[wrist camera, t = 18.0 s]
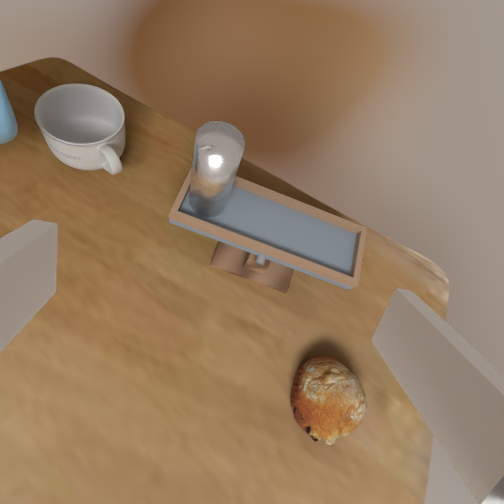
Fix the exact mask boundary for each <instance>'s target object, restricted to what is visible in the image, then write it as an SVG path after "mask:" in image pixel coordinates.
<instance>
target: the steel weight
mask: <svg viewBox="0 0 504 504" xmlns="http://www.w3.org/2000/svg"><path fill="white" fill-rule="evenodd" d="M244 148H245V140H244V137H243V135H242V134H241V132H240V131H239V130H238V129H237V128H236V127H234V126H233V125H231V124H229V123H226V122H222V121H211V122H208V123H205V124H203V125H202V126H201V127H200V128H199V129H198V131H197V133H196V137H195V147H194V156H193V165H192V175H191V184H190V193H189V204H190V206H191V208H192V210H193V211H194V212H195V213H197V214H198V215H200V216H203V217H208V218H210V217H216V216H218V215H220V214H221V213H222V212H223V211H224V210H225V207H226V204H227V201H228V198H229V195H230V192H231V189H232V186H233V183H234V180H235V177H236V173H237V170H238V167H239V164H240V161H241V158H242V155H243V151H244Z"/></svg>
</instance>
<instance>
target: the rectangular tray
mask: <svg viewBox="0 0 504 504" xmlns="http://www.w3.org/2000/svg"><path fill="white" fill-rule="evenodd" d="M192 165H193V164H192ZM191 175H192V166H191V168H190V171H189V173H188V175H187V177H186V179H185V181H184V183H183V185H182V187H181V190H180V192H179V194H178V196H177V198H176V200H175V202H174V204H173V206H172V208H171V211H170V213H169V223H172V224H175V225H177V226H180V227H183V228H185V229H188V230H191V231H193V232H196V233H199V234H201V235H204V236H207V237H209V238H212V239H215V240H217V241H220V242H223V243H225V244H228V245H231V246H233V247H236V248H239V249H241V250H244V251H247V252H249V253H252V254H255V255H257V258H256V262H255V263H256V264H257V265H260V266H263V265H264V263H265V260H266V259H268V260H271V261H273V262H276V263H279V264H281V265H284V266H287V267H289V268H292V269H295V270H297V271H300V272H303V273H305V274H308V275H311V276H313V277H316V278H319V279H321V280H324V281H327V282H329V283H332V284H335V285H337V286H340V287H343V288H345V289H348V290H350V289H352V288H354V287H356V286H358V283H359V276H360V270H361V264H362V258H363V251H364V245H365V239H366V233H367V228H366V227H363V226H361V225H358V224H356V223H353V222H351V221H348V220H346V219H343V218H341V217H338V216H336V215H333V214H330V213H328V212H325V211H323V210H320V209H318V208H315V207H313V206H310V205H308V204H305V203H303V202H300V201H298V200H295V199H293V198H290V197H288V196H285V195H283V194H280V193H278V192H275V191H273V190H270V189H268V188H265V187H263V186H260V185H258V184H255V183H253V182H250V181H248V180H245V179H243V178H240V177H238V176H236V177H235V180H234V183H233V186H232V189H231V192H230V195H229V198H228V201H227V204H226V207H225V210H224V211H223V212H222V213H221V214H220V215H218V216H216V217H210V218H208V217H203V216H200V215H198V214H197V213H195V212H194V211H193V210H192V208H191V206H190V204H189V193H190V184H191Z"/></svg>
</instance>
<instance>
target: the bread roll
mask: <svg viewBox="0 0 504 504" xmlns="http://www.w3.org/2000/svg"><path fill="white" fill-rule="evenodd" d="M291 408H292V411H293V413H294V418H295V420H296V422H297V423H298V424H299V425H300V427H301V428H302V429H303V430H304V431H305V432H306V433H307V434H308V435H310V436H311V437H312V439H313V440H314V441H315V442H316V441H318V440H321V439H323V441H324V443H325V444H328V445H331V444H333V443H334V442H335V440H336V439H337V438H338V437H341V436H343V435H344V436H347V435H350V434H351V432H352V431H353V430H354V429H355V428H356V427H357V426H358V425H359V424H360V422H361V421H362V419H363V417H364V416H365V413H366V408H367V400H366V396H365V393H364V390H363V389H362V386H361V384H360V382H359V379H358V377H356V376H355V375H354V374H353V373H352V372H350V370H349V369H347V368H346V367H345V366H344V365H343V364H341V363H340V362H339V361H337V360H336V359H334V358H331V357H327V356H318V357H314V358H312V359H310V360H308V361H306V362H305V363H304V364H303V365H302V366H301V367H300V368H299V370H298V371H297V373H296V377H295V380H294V384H293V388H292V393H291Z"/></svg>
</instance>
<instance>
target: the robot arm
mask: <svg viewBox="0 0 504 504" xmlns="http://www.w3.org/2000/svg"><path fill="white" fill-rule="evenodd" d="M17 132H18V126H17V122H16V119H15V116H14V113H13V110H12V107H11V104H10V102H9V99H8V97H7V94H6V92H5V89H4V87H3V84H2V82H1V80H0V145H1V144H4V143H8V142H10V141H12V140H13V139H14V138H15V137H16V135H17ZM57 233H58V224H56V223H51V222H45V221H40V220H35V219H33V220H32V221H30V222H28V223H26V224H25V225H23V226H21V227H19V228H18V229H16V230H14V231H12V232H11V233H9V234H7V235H5V236H4V237H2V238H0V353H1V352H2V351H3V350H4V349H5V347H6V346H7V345H8V344H9V343H10V342H11V341H12V340H13V339H14V338H15V337H16V335H17V334H18V333H19V332H20V331H21V330H22V329H23V328H24V327H25V326H26V324H27V323H28V322H29V321H30V320H31V319H32V318H33V317H34V316H35V315H36V314H37V312H38V311H39V310H40V309H41V308H42V307H43V306H44V305H45V304H46V303H47V301H48V300H49V299H50V298H51V297H52V296H53V295H54V294H55V293H56V271H57ZM371 342H372V343H373V345H374V346H375V348H376V349H377V351H378V352H379V354H380V355H381V357H382V358H383V360H384V361H385V363H386V364H387V366H388V367H389V369H390V370H391V372H392V373H393V375H394V376H395V378H396V379H397V381H398V382H399V384H400V386H401V387H402V389H403V390H404V392H405V393H406V395H407V396H408V398H409V399H410V401H411V402H412V404H413V405H414V407H415V408H416V410H417V411H418V413H419V414H420V416H421V417H422V419H423V420H424V422H425V423H426V425H427V426H428V428H429V429H430V431H431V432H432V434H433V435H434V437H435V438H436V440H437V441H438V443H439V444H440V446H441V447H442V449H443V450H444V452H445V453H446V455H447V456H448V458H449V459H450V461H451V463H452V464H453V465H454V467H455V468H456V470H457V472H458V473H459V475H460V476H461V478H462V479H463V481H464V482H465V484H466V485H467V487H468V488H469V490H470V491H471V493H472V494H473V495H474V497H475V499H476V500H477V502H478V503H479V504H504V376H503V375H502V374H501V373H500V372H499V371H498V370H496V368H494V367H493V366H492V365H491V364H490V363H489V362H488V361H487V360H486V359H485V358H484V357H483V356H481V355H480V354H479V353H478V352H477V351H476V350H475V349H474V348H473V347H472V346H471V345H469V343H468V342H466V341H465V340H464V339H463V338H462V337H461V336H460V335H459V334H458V333H457V332H456V331H455V330H453V329H452V328H451V327H450V326H449V325H448V324H447V323H446V322H445V321H444V320H443V319H442V318H441V317H439V316H438V315H437V314H436V313H435V312H434V311H433V310H432V309H431V308H430V307H429V306H428V305H427V304H425V303H424V302H423V301H422V300H421V299H420V298H419V297H418V296H417V295H416V294H415V293H414V292H413V291H409V290H404V289H399V288H396V289H395V291H394V293H393V295H392V297H391V299H390V301H389V304H388V306H387V308H386V310H385V312H384V314H383V316H382V319H381V321H380V323H379V325H378V327H377V329H376V331H375V334H374V336H373V338H372V340H371Z"/></svg>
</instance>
